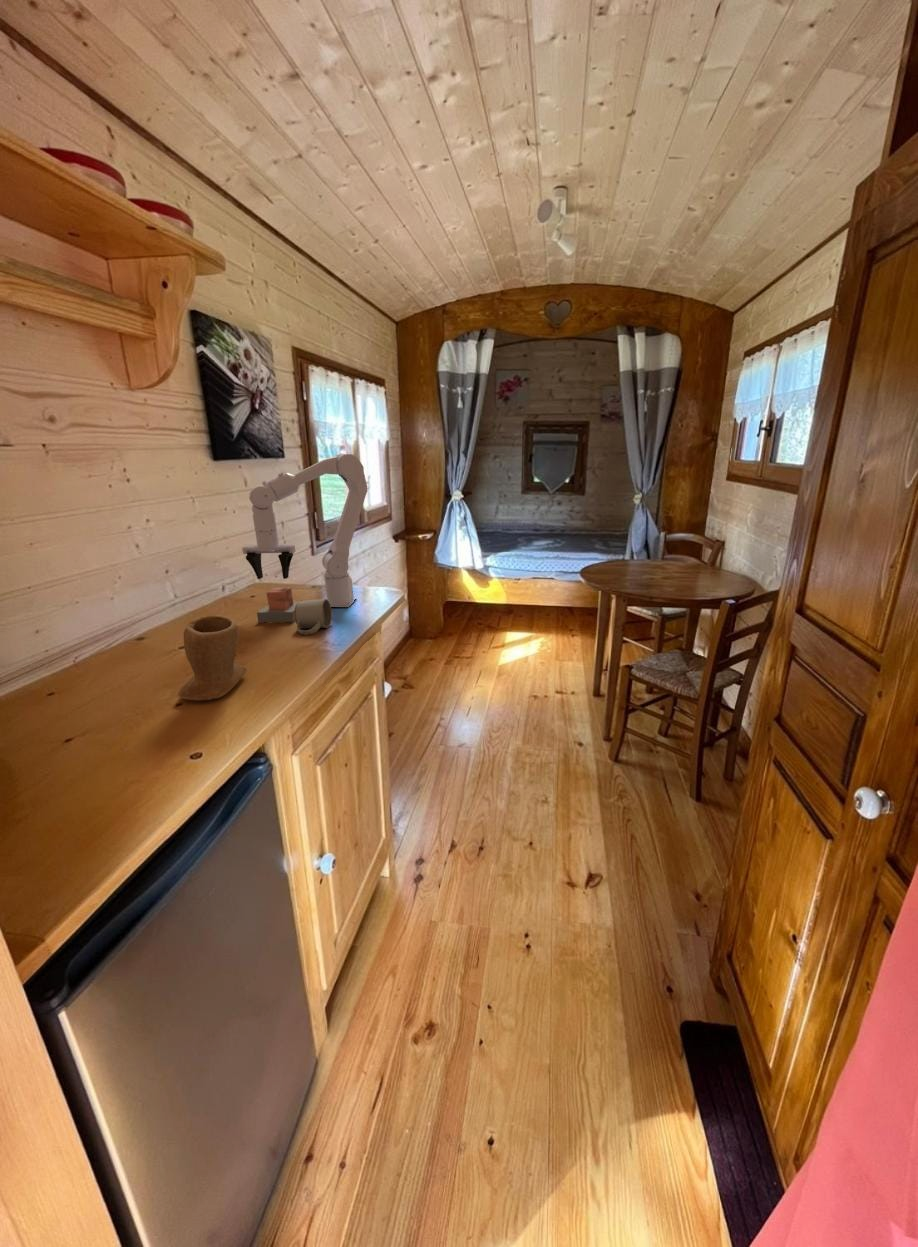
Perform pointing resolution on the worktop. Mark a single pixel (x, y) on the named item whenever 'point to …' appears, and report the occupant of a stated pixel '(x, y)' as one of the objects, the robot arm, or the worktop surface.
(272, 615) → the grey block
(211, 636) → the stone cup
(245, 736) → the worktop surface
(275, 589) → the red cube
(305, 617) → the ceramic mug
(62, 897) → the worktop surface
